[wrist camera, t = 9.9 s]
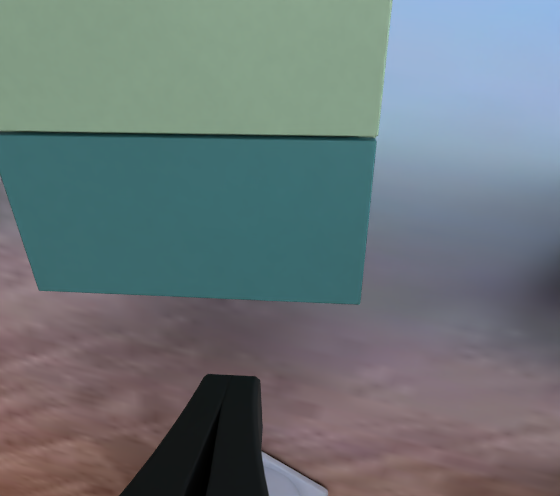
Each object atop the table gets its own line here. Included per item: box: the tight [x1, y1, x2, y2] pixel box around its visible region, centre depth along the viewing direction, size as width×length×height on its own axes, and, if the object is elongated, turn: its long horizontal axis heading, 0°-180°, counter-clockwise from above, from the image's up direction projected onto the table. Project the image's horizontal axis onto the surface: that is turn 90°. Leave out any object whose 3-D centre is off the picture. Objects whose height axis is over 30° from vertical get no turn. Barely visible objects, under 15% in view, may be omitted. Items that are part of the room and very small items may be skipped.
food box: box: [0, 0, 392, 138], centre depth 14 cm, size 11×11×6 cm
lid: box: [0, 132, 377, 305], centre depth 13 cm, size 5×11×1 cm, turn 91°
